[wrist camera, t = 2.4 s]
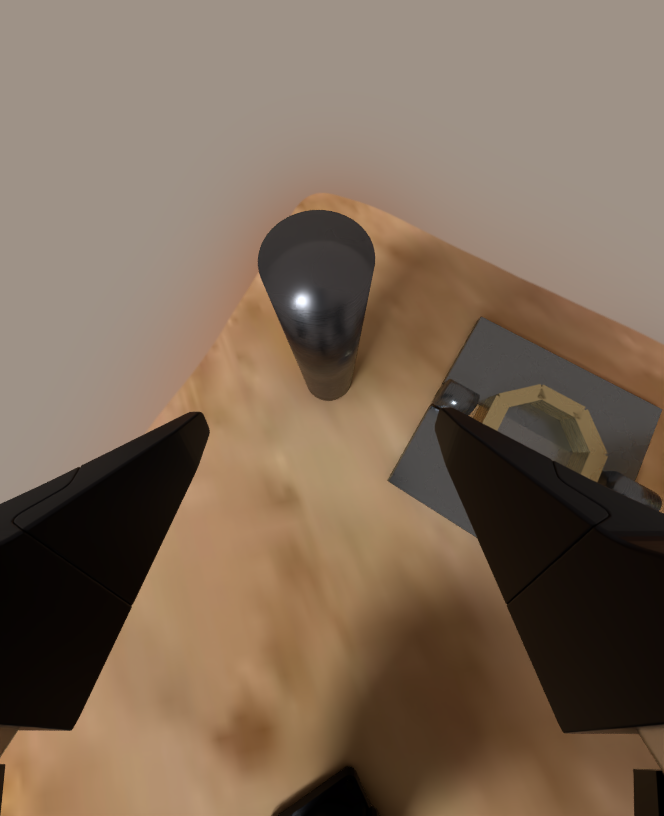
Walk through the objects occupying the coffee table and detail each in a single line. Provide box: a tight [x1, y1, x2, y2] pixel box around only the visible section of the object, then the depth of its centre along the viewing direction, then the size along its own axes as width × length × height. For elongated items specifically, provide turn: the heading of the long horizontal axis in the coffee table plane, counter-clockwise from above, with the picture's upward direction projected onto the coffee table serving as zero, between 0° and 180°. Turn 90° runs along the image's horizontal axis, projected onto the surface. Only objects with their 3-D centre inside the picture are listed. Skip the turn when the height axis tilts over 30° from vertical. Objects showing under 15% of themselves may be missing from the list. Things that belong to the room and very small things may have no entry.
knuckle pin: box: [258, 210, 375, 401], centre depth 14 cm, size 4×4×13 cm
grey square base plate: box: [387, 317, 662, 538], centre depth 18 cm, size 17×16×2 cm
